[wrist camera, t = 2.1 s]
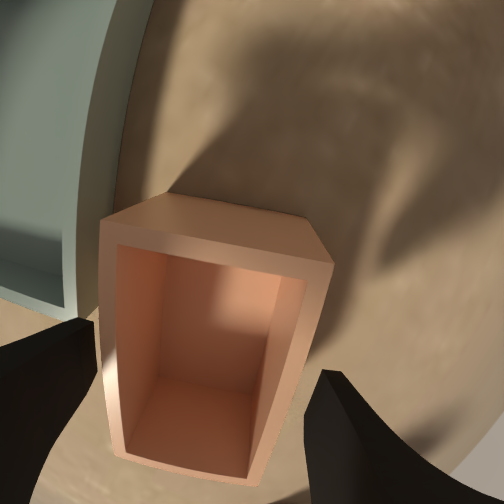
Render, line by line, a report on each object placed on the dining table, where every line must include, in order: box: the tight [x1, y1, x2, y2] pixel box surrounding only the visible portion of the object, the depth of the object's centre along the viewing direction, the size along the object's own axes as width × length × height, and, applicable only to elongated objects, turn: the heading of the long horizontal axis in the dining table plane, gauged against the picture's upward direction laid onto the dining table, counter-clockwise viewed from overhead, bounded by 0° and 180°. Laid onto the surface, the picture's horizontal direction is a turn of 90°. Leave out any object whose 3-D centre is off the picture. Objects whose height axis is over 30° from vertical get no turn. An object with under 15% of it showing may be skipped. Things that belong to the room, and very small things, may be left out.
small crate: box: [98, 192, 335, 487], centre depth 11 cm, size 6×9×6 cm, turn 169°
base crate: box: [0, 0, 154, 321], centre depth 10 cm, size 12×15×3 cm
